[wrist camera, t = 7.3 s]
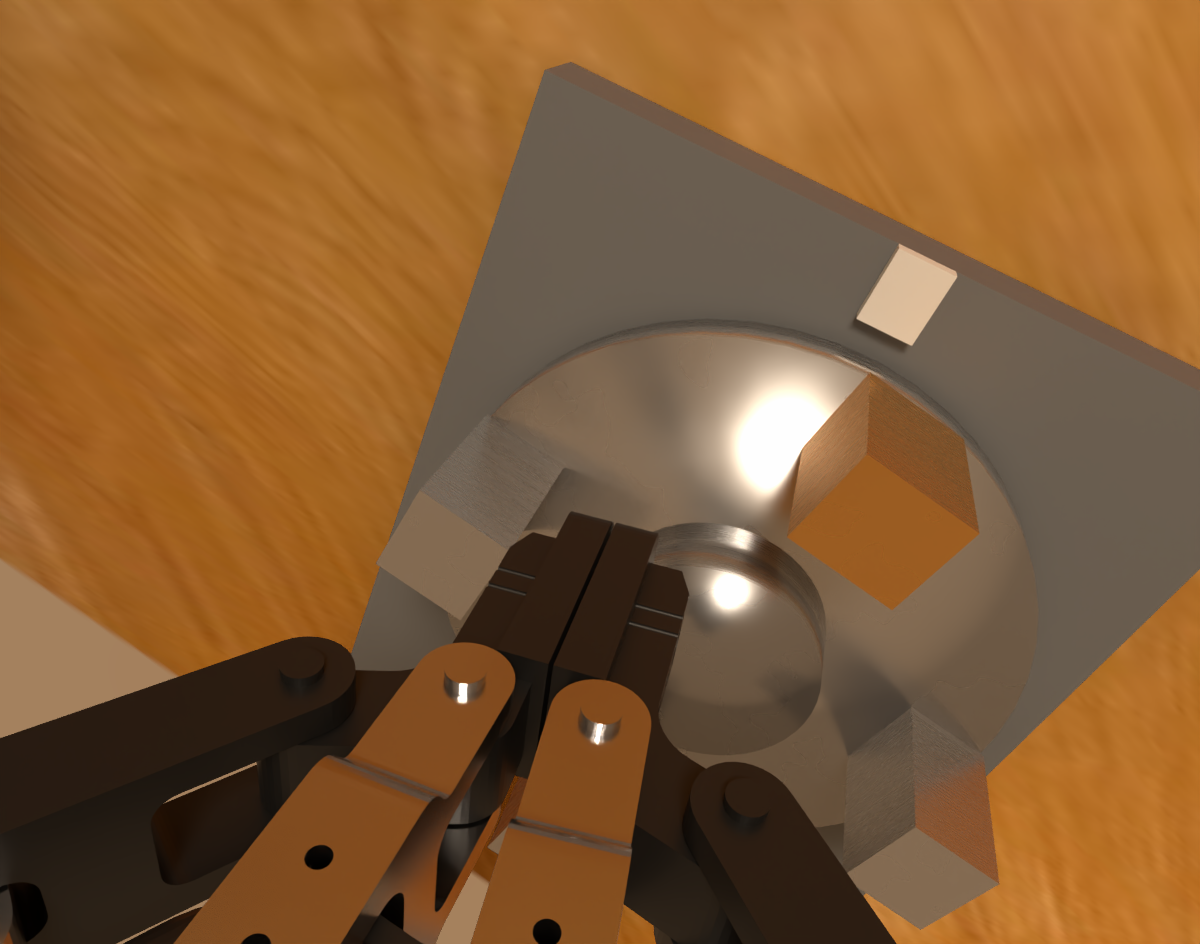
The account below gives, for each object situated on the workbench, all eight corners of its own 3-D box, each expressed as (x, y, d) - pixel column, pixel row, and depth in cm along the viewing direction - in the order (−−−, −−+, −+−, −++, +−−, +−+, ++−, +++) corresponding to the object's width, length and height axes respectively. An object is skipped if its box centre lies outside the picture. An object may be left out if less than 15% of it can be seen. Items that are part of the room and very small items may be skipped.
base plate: (373, 634, 33) (340, 677, 31) (571, 62, 22) (539, 71, 20) (837, 873, 33) (834, 933, 31) (1287, 412, 21) (1329, 459, 19)
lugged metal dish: (382, 360, 25) (274, 445, 20) (1023, 271, 19) (1063, 361, 15) (532, 788, 32) (474, 920, 27) (1038, 811, 26) (1069, 982, 22)
